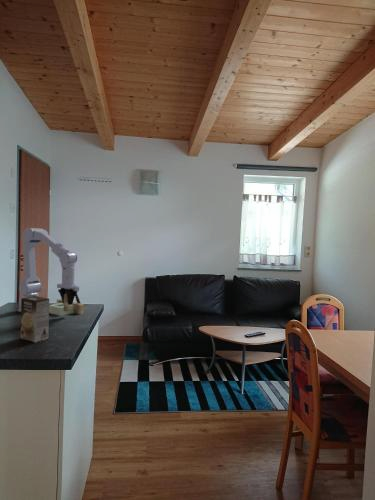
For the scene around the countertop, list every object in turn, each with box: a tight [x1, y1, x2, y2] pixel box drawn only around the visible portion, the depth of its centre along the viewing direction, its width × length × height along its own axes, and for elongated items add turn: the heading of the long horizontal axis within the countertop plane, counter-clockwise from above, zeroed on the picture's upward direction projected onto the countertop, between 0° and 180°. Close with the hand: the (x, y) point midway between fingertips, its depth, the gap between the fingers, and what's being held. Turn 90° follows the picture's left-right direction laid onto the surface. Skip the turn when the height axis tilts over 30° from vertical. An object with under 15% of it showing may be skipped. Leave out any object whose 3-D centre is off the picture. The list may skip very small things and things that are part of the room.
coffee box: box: [20, 295, 50, 343], centre depth 125 cm, size 9×6×16 cm
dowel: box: [64, 294, 71, 311], centre depth 158 cm, size 4×4×8 cm
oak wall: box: [56, 298, 85, 315], centre depth 171 cm, size 20×2×5 cm, turn 58°
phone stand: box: [74, 292, 82, 304], centre depth 183 cm, size 9×6×12 cm, turn 109°
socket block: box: [49, 303, 75, 317], centre depth 167 cm, size 10×8×4 cm
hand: (67, 303), depth 158 cm, fingers closed on dowel, 4 cm apart
